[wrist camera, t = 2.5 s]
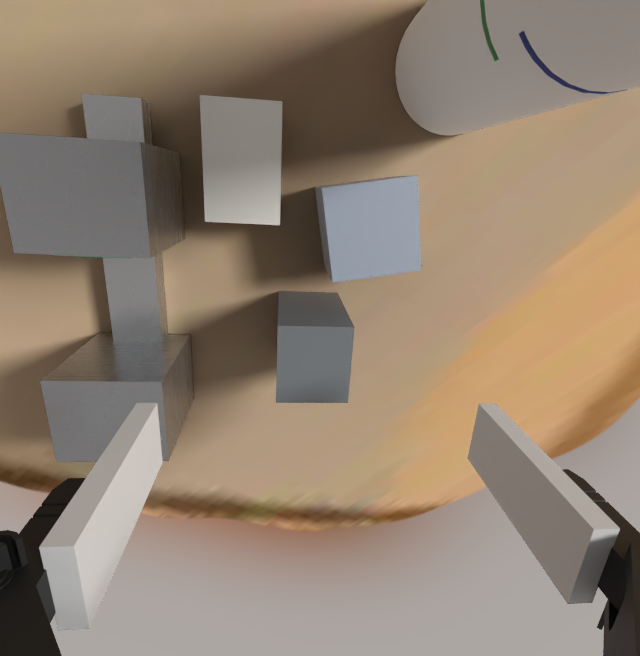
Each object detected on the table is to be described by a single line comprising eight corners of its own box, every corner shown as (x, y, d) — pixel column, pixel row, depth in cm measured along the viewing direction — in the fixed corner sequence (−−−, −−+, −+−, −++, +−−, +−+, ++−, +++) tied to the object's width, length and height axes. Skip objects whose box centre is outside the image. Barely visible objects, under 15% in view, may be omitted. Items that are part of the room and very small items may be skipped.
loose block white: (213, 108, 23) (199, 94, 19) (282, 113, 24) (282, 101, 20) (216, 215, 25) (205, 221, 22) (280, 218, 26) (279, 225, 22)
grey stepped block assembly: (65, 96, 22) (-25, 61, 16) (176, 105, 23) (134, 74, 16) (109, 410, 29) (59, 476, 22) (194, 410, 30) (169, 475, 23)
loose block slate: (314, 186, 25) (321, 187, 20) (392, 176, 25) (417, 175, 21) (324, 265, 27) (332, 282, 22) (397, 255, 27) (421, 270, 22)
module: (278, 290, 27) (277, 325, 21) (337, 292, 28) (354, 327, 21) (277, 354, 29) (276, 404, 22) (332, 354, 29) (347, 405, 23)
